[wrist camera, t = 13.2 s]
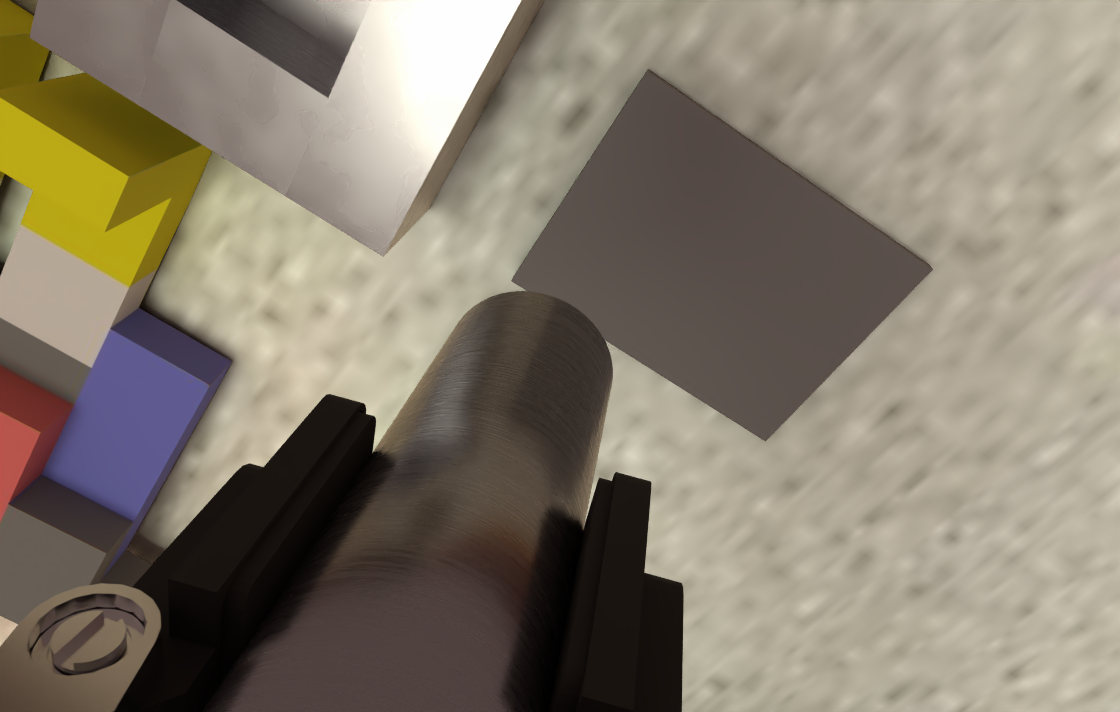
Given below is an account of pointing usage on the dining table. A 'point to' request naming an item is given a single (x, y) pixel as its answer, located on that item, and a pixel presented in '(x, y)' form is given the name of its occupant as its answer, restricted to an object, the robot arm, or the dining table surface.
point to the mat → (716, 261)
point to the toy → (87, 326)
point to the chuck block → (308, 88)
